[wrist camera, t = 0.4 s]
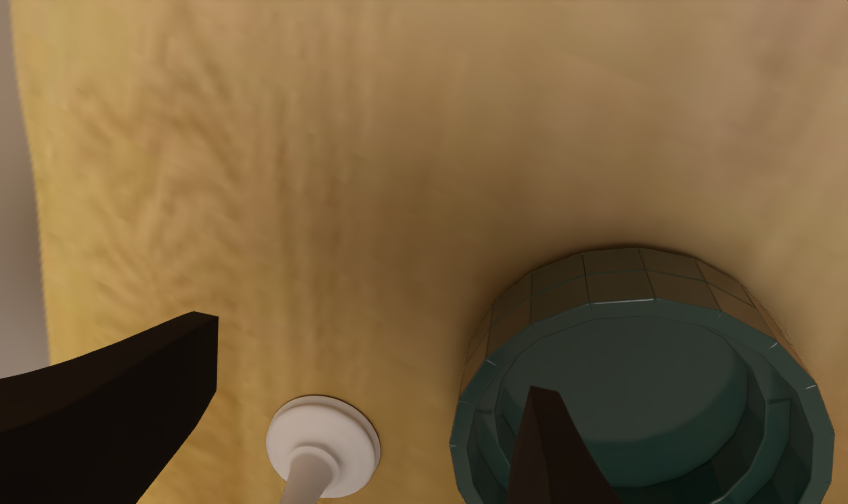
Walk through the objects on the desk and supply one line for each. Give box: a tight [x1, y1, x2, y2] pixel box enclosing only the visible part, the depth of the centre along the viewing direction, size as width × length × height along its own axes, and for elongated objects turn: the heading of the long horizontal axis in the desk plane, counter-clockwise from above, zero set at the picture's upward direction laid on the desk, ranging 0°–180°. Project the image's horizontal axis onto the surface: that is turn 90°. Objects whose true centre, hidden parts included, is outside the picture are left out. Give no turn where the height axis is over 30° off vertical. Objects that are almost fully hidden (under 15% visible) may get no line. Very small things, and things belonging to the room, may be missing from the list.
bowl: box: [449, 247, 835, 504], centre depth 23 cm, size 12×12×4 cm
